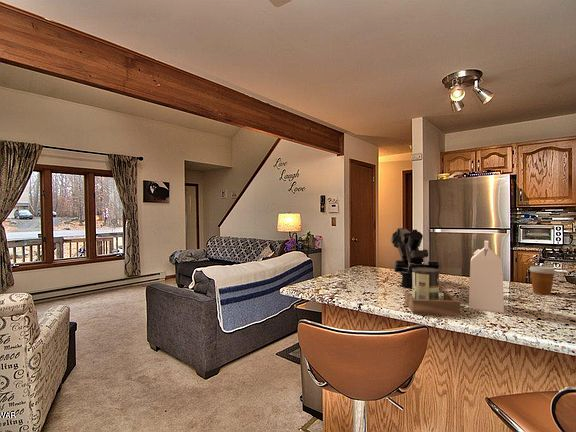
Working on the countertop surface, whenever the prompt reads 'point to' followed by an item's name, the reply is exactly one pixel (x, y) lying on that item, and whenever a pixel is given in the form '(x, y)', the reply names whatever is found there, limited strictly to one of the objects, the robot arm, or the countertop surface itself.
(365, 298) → the countertop surface
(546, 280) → the disposable coffee cup
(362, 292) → the countertop surface
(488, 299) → the milk
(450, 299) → the brown tray
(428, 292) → the coffee can
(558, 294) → the countertop surface
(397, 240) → the robot arm
